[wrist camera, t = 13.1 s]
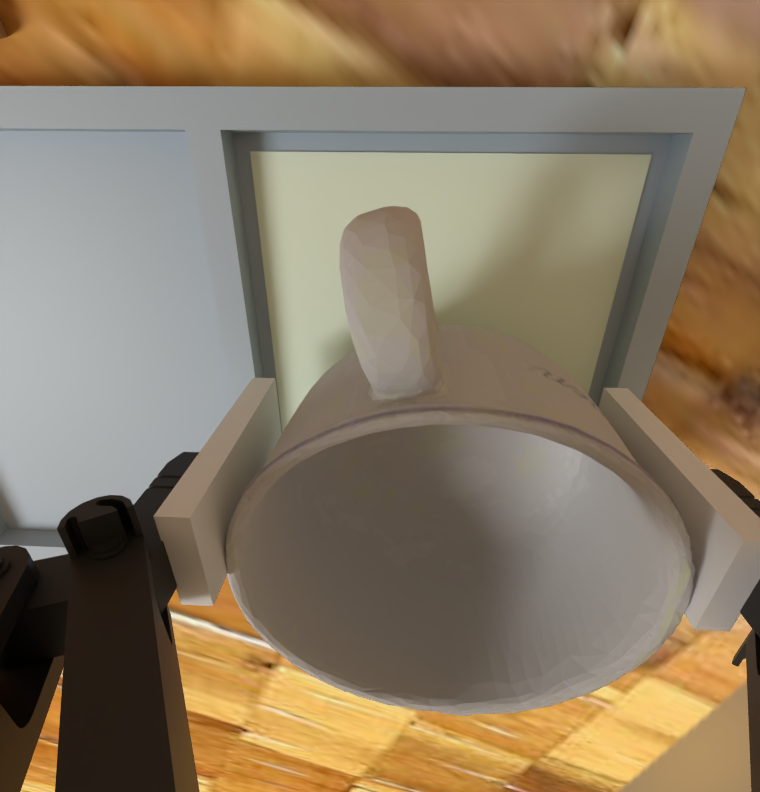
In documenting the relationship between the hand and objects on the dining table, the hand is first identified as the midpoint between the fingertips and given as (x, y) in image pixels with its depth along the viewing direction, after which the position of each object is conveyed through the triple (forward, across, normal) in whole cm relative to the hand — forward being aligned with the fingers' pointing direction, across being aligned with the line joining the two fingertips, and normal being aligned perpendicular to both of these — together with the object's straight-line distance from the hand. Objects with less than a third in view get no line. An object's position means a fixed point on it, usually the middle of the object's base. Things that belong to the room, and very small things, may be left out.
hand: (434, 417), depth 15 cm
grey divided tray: (+3, -7, 0) cm, 8 cm away
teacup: (+2, 0, 0) cm, 2 cm away
